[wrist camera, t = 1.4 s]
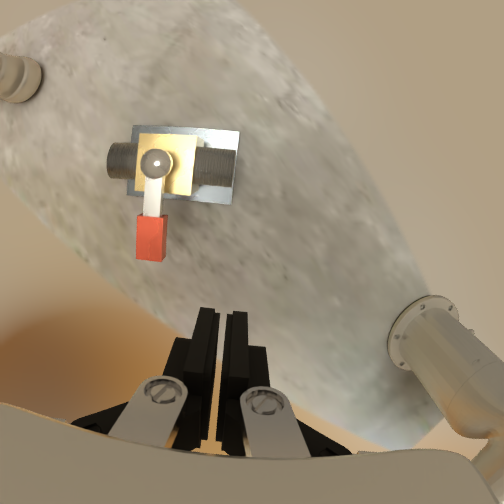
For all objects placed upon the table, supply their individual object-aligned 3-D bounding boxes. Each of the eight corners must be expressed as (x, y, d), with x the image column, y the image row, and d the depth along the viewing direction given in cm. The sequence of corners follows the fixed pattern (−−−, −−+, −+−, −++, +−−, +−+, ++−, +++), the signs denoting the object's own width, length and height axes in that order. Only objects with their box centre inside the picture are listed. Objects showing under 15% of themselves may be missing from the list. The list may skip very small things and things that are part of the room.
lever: (146, 148, 24) (141, 147, 22) (174, 150, 24) (170, 149, 22) (140, 253, 26) (135, 258, 25) (166, 256, 26) (162, 262, 25)
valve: (239, 132, 33) (237, 121, 23) (231, 203, 35) (226, 218, 26) (136, 126, 32) (100, 116, 23) (130, 194, 34) (93, 206, 25)
